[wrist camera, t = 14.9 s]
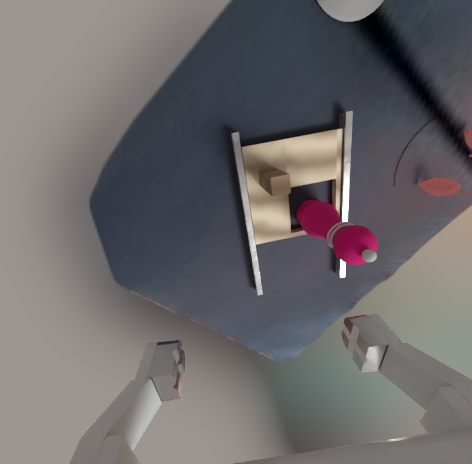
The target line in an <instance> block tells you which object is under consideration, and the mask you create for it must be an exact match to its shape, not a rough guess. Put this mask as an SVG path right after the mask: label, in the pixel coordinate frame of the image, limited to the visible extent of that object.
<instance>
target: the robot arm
mask: <svg viewBox="0 0 472 464" xmlns="http://www.w3.org/2000/svg"><path fill="white" fill-rule="evenodd" d="M383 1H384V0H317V2H318V3H319V5H320V6H321V8H322V9H323V10H324V11H325V12H326V13H327V14H328V15H330V16H331V17H333V18H335V19H337V20H340V21H345V22H352V21H357V20H360V19H362V18H365V17H366V16H368V15H370V14H371V13H372V12H374V11H375V10H376V9H377V8H378V7H379V6H380V5H381V4H382V2H383ZM344 325H345V327H344V328H343V329H342V339H343V342H344V344H345V346H346V348H347V350H349V351H350V352H352V353H353V360H354V362H355V363H356V365H357V367H358V368H359V370H360V372H361V373H362V372H371V371H379V372H380V373H381V374H383V375H384V376H385V377H386V378H387V379H389V380H390V381H391V382H392V383H394V384H395V385H396V386H398V387H399V388H400V389H401V390H402V391H404V392H405V393H406V394H407V395H408V396H410V397H411V398H412V399H413V400H414V401H416V402H417V403H419V405H421V406H422V407H423V408H424V409H425V412H424V414H423V415H422V417H421V420H420V422H421V424H422V425H423V427H424V428H425V430H426V431H427V434H420V435H414V436H407V437H401V438H395V439H388V440H382V441H375V442H369V443H362V444H356V445H350V446H343V447H337V448H330V449H324V450H317V451H311V452H304V453H298V454H291V455H285V456H279V457H272V458H266V459H259V460H253V461H246V462H240V463H233V464H472V380H471V379H470V378H468V377H466V376H464V375H463V374H461V373H459V372H457V371H455V370H454V369H452V368H450V367H448V366H447V365H445V364H443V363H441V362H439V361H438V360H436V359H434V358H432V357H431V356H429V355H427V354H425V353H423V352H422V351H420V350H418V349H416V348H414V347H413V346H411V345H409V344H407V343H403V342H402V341H401V340H400V339H399V338H398V337H397V335H396V334H395V333H394V332H393V331H392V330H391V329H390V327H389V326H388V325H387V324H386V323H385V322H384V321H383V319H382V318H381V317H380V316H379V315H377V314H370V315H361V316H354V317H348V318H345V319H344ZM184 369H185V355H184V351H183V350H182V349H181V342H180V340H176V341H167V342H157V343H149V344H147V345H146V347H145V350H144V353H143V356H142V360H141V362H140V365H139V368H138V371H137V375H136V378H135V380H133V381H131V382H130V383H129V384H128V385H127V386H126V387H125V389H124V390H123V391H122V392H121V393H120V394H119V396H118V397H117V398H116V399H115V400H114V401H113V402H112V403H111V405H110V406H109V407H108V408H107V409H106V410H105V411H104V413H103V414H102V415H101V416H100V417H99V418H98V419H97V420H96V422H95V423H94V424H93V425H92V426H91V427H90V429H89V430H88V431H87V432H86V433H85V434H84V436H82V438H81V439H80V441H79V443H78V446H77V448H76V450H75V452H74V455H73V457H72V459H71V462H70V464H141V463H140V461H139V460H138V458H137V457H136V456H135V454H134V453H133V449H134V448H135V446H136V444H137V443H138V441H139V439H140V438H141V436H142V435H143V433H144V431H145V430H146V428H147V426H148V425H149V423H150V422H151V420H152V418H153V417H154V415H155V413H156V412H157V410H158V408H159V407H160V405H161V403H162V401H168V400H174V399H179V398H181V393H182V385H183V381H182V378H181V376H182V374H183V373H184Z"/></svg>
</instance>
